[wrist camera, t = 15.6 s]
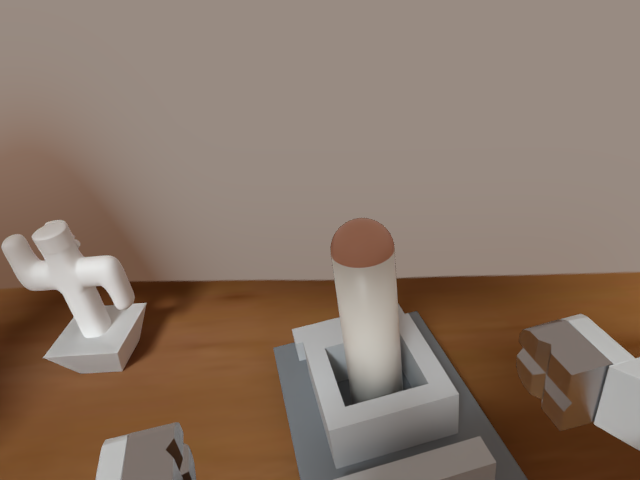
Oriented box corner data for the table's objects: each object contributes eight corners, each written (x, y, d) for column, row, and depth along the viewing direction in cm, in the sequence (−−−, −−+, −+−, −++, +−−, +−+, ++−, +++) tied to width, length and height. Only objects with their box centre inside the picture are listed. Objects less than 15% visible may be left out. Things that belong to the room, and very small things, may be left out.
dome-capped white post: (341, 406, 37) (313, 228, 29) (372, 374, 40) (354, 201, 32) (383, 432, 35) (365, 245, 27) (414, 396, 37) (405, 215, 29)
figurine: (141, 381, 45) (80, 244, 37) (48, 386, 46) (-30, 254, 38) (167, 329, 51) (119, 203, 44) (84, 334, 52) (23, 212, 45)
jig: (525, 493, 31) (533, 439, 28) (317, 560, 30) (304, 508, 27) (417, 323, 47) (415, 276, 44) (276, 359, 45) (265, 314, 42)
